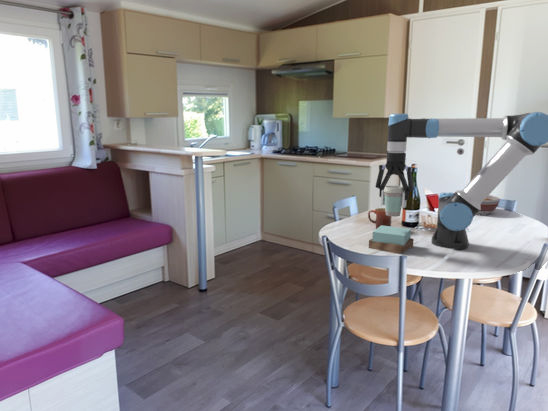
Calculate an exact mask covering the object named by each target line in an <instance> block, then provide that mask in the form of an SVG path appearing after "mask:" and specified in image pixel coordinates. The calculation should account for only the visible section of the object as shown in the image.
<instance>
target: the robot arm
mask: <svg viewBox="0 0 548 411" xmlns="http://www.w3.org/2000/svg"><path fill="white" fill-rule="evenodd" d="M437 137H447V138H448V137H449V138H450V137H452V138H454V137H455V138H456V137H457V138H458V137H459V138H460V137H461V138H501V139H502V141H503V140H504V141H506V142H505V143H504V144H503V145H501V147H500V148H499V150H497V151H496V152H495V154H494V155H493V156H492V157H491V158H490V159H489V160H488V161H487V163H485V165H484V166H482V168H481V169H480V170H479V171H478V172H477V174H475V175H474V176H473V178H472V179H471V180H470V181H469V182H468V183H467V184H466V185H465V187H464V188H463V189H461V190H456V191H455V192H440V193H439V195H438V198H437V199H438V204H437V205H438V207H437V220H436V227H435V228H434V232H433V234H432V236H431V244H432V245H433V246H436V247H440V248H444V249H451V250H452V249H453V250H462V249H467V248H469V239H468V234H467V230H466V229H467V228H469V226H470V225H471V224H472V222H473V219H474V217H475V216H476V214H477V213H478V212H479V211H480V210H481V206H480V205H481V203H482V202H483V201H484V200H485V198H486V197H487V196H488V195H490V194H491V193H492V192H493V191H494V190H495V189H496V188H497V187H498V186H499V185H500V184H501V183H502V182H503V181H504V180H505V178H507V176H508V175H509V174H511V172H512V171H513V170H514V169H515V168H516V167H517V166H518V165H519V164H520V162H521V161H522V160H523V159H524V158H525V157H526V156H530V155H531V156H532V155H534V154H535V153H536V152H537V151H538V150H539V149H540V147H541V146H543V145H545V144H547V143H548V114H546V113H544V112H540V111H535V112H526V113H521V114H516V115H504V116H503V117H499V118H498V117H496V118H493V117H492V118H491V117H489V118H486V117H485V118H484V117H483V118H481V117H479V118H478V117H477V118H472V117H471V118H409V115H408V113H392V114H390V115H389V116H388V126H387V144H386V145H387V146H386V151H387V153H386V163H385V164H380V165H378V174H377V179H376V183H375V188H377V189H379V197H380V198H381V199H380V206H385V195H384V189H385V186H387V184H388V182H389V180H390V178H391V177H392V176H393V175H395V176H398V178H399V181H400V183H401V187H403V188H404V191H405V192H403V196H402V207H401V209H405V208H407V201H408V200H409V199H410V198H409V197H410V192H412V191H414V190H415V186H414V179H413V169H414V167H413V166H407V165H406V161H407V160H406V156H407V155H406V154H407V153H406V151H407V138H412V139H413V138H415V139H416V138H418V139H420V138H421V139H436V138H437ZM385 169H386V170H387V171H386V174H385ZM404 171H405V172H406V176H405V172H404ZM384 174H385V176H384ZM383 177H384V178H383ZM406 177H407V180H406Z"/></svg>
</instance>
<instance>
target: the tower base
mask: <svg viewBox="0 0 548 411" xmlns="http://www.w3.org/2000/svg"><path fill="white" fill-rule="evenodd" d="M414 240H415V239H414V238H410V239H409V240H408V241H407V242H406V243H405V244H404V245H397V244H390V243H383V242H375V241H372V238H371V239H369V240H368V249H372V250H378V251H381V252H382V251H383V252H387V253H393V254H398V255H402V254H403V253H404V252H406V251H408V250H409V249H412V248H414Z"/></svg>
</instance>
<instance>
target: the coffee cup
mask: <svg viewBox="0 0 548 411" xmlns="http://www.w3.org/2000/svg"><path fill="white" fill-rule="evenodd" d="M403 192H405V191H404V188H403V186H402V185H401V186H400V185H386V186H385V189H384V195H385V205H384V208H385V211H386V215H387V216H392V217H396V218H397V217H400V216H401V211H402V196H403ZM392 217H391V218H392Z"/></svg>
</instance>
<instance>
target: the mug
mask: <svg viewBox="0 0 548 411" xmlns="http://www.w3.org/2000/svg"><path fill="white" fill-rule="evenodd" d="M371 213H374V214H375V220H373V219H372V218H371ZM367 216H368V220H369V221H370V222H371V223H373V224H375V230H376V229H377V228H378V227H380V226H381V225H382V226H390V227H392V216H387V215H386V211H385V207H381V208H379V207H378V208H375V209H374V210H372V209H371V210H369V211H368V213H367Z"/></svg>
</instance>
